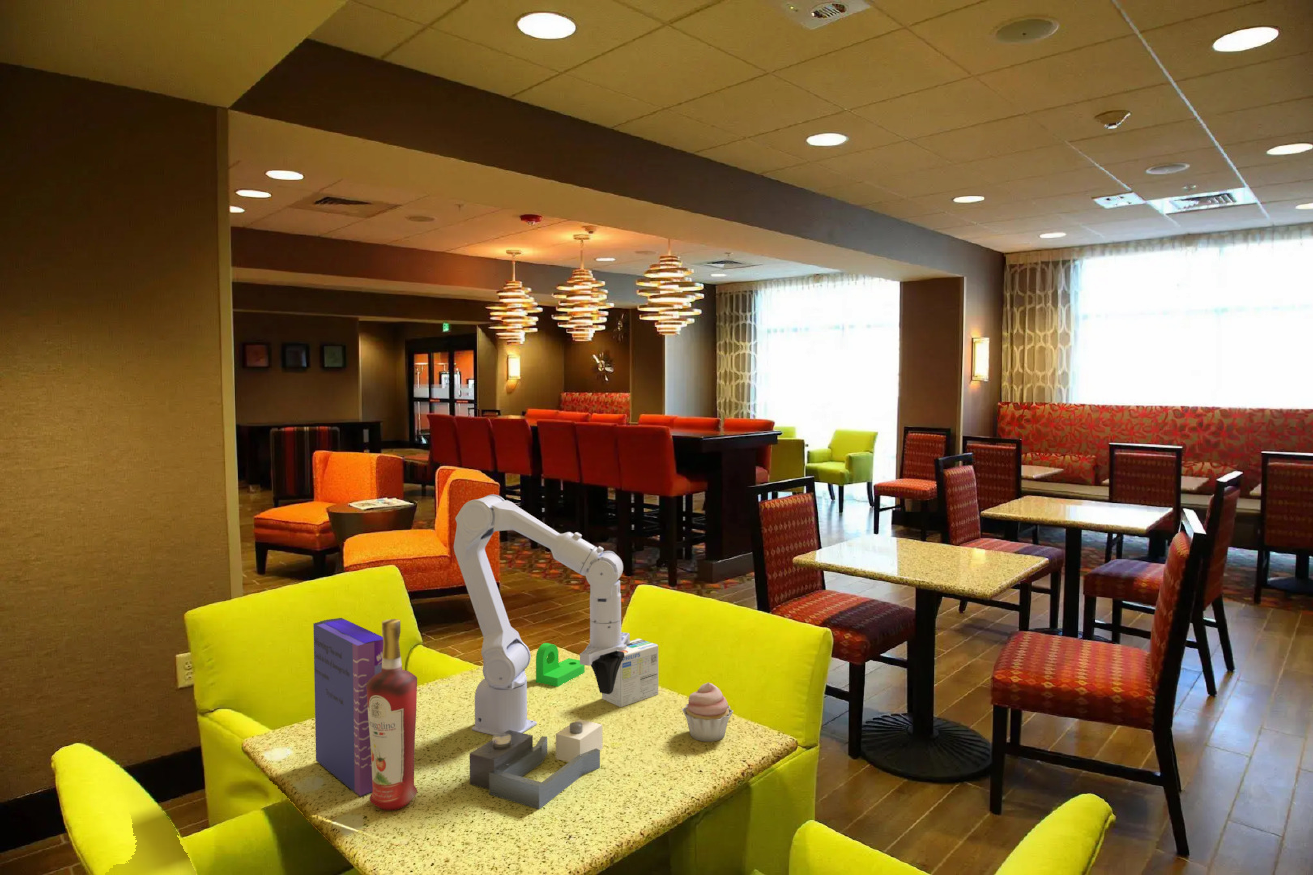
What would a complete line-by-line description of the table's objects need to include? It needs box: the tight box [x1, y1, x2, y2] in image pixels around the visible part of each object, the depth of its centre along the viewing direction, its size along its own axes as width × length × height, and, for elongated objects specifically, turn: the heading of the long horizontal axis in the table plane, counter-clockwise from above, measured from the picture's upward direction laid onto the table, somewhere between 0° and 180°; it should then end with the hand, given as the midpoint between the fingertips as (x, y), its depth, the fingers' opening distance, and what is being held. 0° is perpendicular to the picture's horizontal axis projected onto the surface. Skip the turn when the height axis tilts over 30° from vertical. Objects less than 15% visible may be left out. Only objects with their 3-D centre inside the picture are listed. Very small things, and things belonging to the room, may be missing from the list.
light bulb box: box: [601, 638, 659, 708], centre depth 158 cm, size 11×7×11 cm, turn 133°
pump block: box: [555, 718, 603, 763], centre depth 132 cm, size 5×7×6 cm
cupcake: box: [681, 682, 734, 743], centre depth 139 cm, size 9×9×10 cm
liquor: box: [366, 618, 418, 812], centre depth 115 cm, size 7×7×28 cm
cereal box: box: [313, 617, 384, 798], centre depth 125 cm, size 17×5×24 cm, turn 45°
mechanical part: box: [535, 642, 586, 688], centre depth 171 cm, size 12×6×8 cm, turn 150°
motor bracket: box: [469, 730, 601, 810], centre depth 124 cm, size 16×16×6 cm
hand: (606, 692), depth 140 cm, fingers closed
